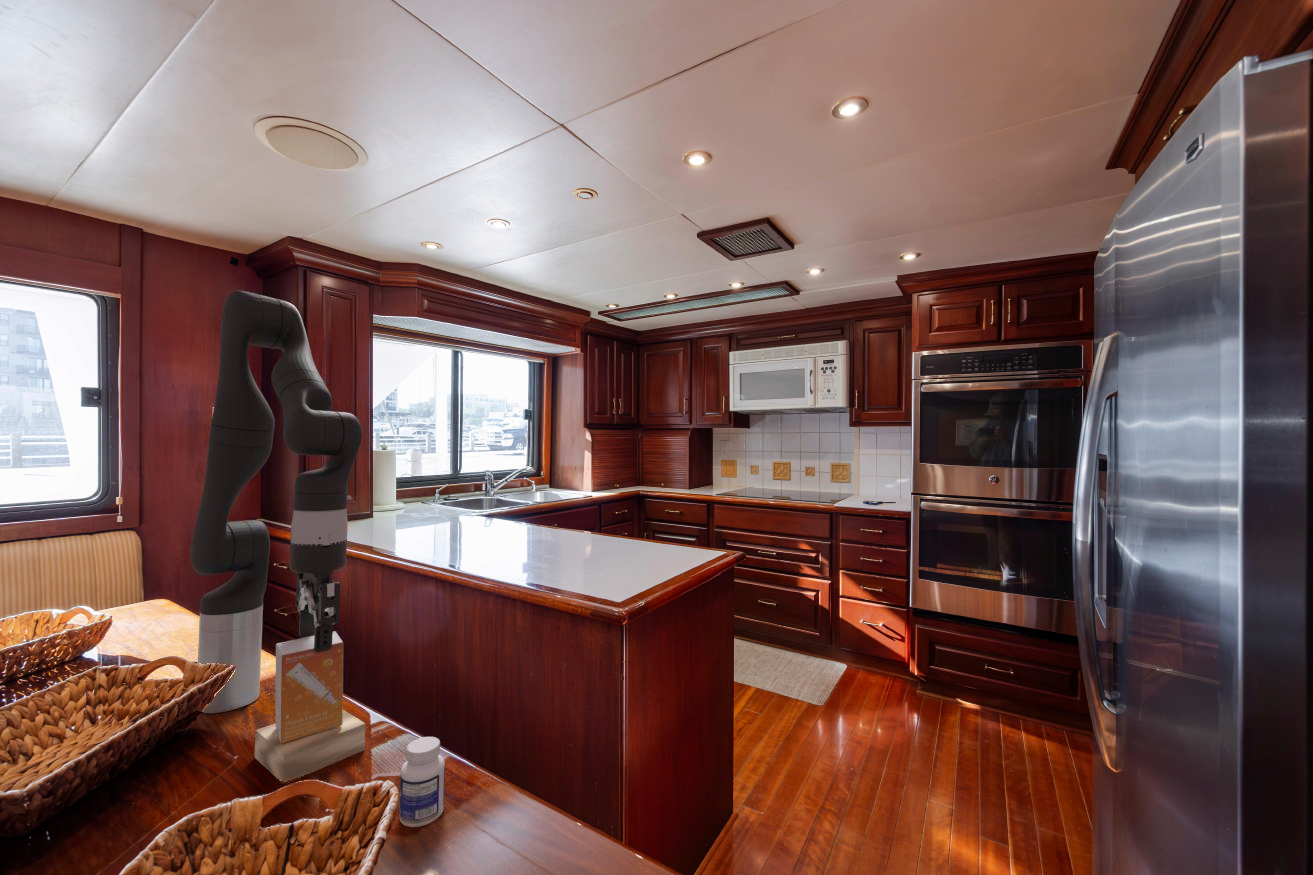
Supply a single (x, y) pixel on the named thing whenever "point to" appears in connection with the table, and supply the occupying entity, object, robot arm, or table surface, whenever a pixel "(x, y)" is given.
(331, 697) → the small box
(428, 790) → the pill bottle
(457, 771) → the table surface
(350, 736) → the birch block
